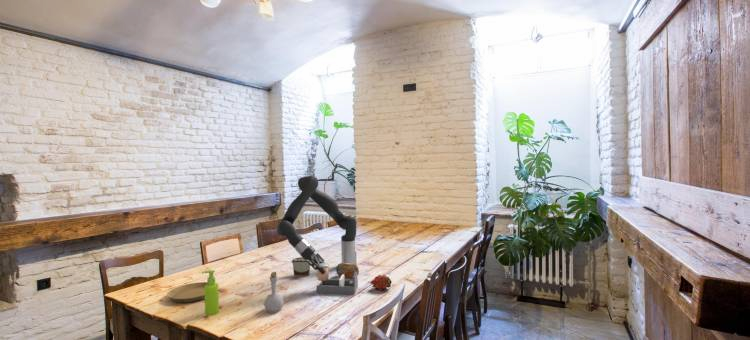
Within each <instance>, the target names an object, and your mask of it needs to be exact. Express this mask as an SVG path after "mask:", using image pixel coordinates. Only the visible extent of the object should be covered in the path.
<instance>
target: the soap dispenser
mask: <svg viewBox="0 0 750 340" xmlns="http://www.w3.org/2000/svg"><path fill="white" fill-rule="evenodd" d="M215 272H216V271H215V270H212V269H209V270H203V271H202V272H201V274H208V277H206V278H207V280H206V282H207V285H205V299H204V314H206V315H205V316H208V315H211V316H215V315H217V314H219V313H220V303H219V302H220V301H219V299H220V297H219V283H216V277H215V276H214V273H215Z"/></svg>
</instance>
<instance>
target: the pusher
mask: <svg viewBox="0 0 750 340" xmlns="http://www.w3.org/2000/svg"><path fill="white" fill-rule="evenodd" d="M339 277H340V276H339ZM344 280H345V277H344V275H343V274H342V276H341V277H340V278H339V286H344V285H345V283H344Z"/></svg>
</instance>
